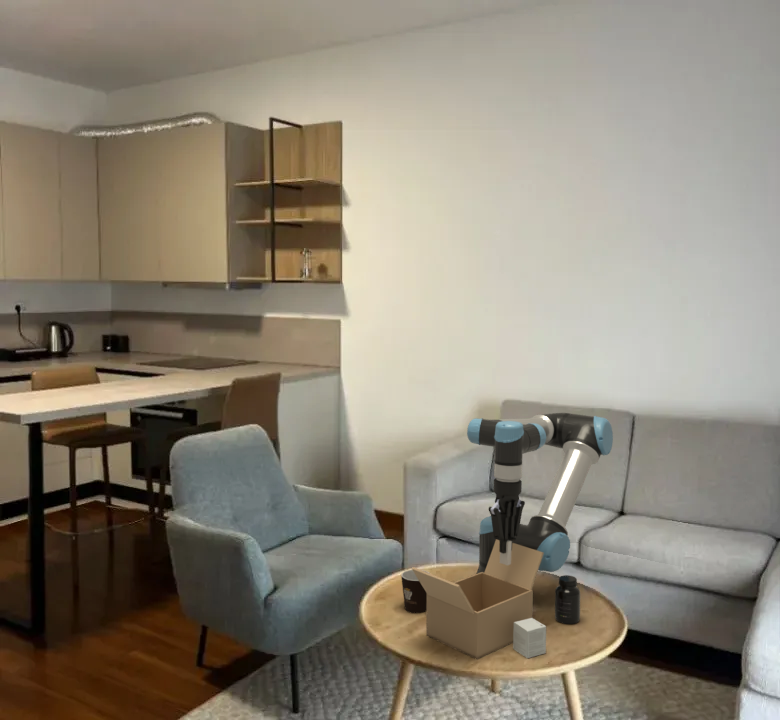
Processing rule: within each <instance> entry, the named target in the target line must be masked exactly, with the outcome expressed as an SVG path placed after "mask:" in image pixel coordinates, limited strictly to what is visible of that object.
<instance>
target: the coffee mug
mask: <svg viewBox="0 0 780 720" xmlns="http://www.w3.org/2000/svg"><path fill="white" fill-rule="evenodd" d="M421 570H422V571H425V572H427V573H430V572H429V571H427V570H423V569H421ZM400 577H401V585H402V587H401V588H402V594H403V604H404V610H405V611H406V612H408V613H410V612H411V614H422V613H425V612H427V593H426V591H425V590H424V588H423V586H422V585H421V583H420V581H419V580H418V578H417V577H416V575H415V573H414V572H413V570H412V569H408V570H405V571H403V572H401V575H400Z"/></svg>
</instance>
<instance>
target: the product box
mask: <svg viewBox="0 0 780 720" xmlns="http://www.w3.org/2000/svg"><path fill="white" fill-rule="evenodd" d="M512 648H513V650H514V651H515V652H517V653H519V654H520V655H521V656H523V657H525V658H526V659H530V658H534V657H537V656H540V655H544V654H546V653H547V625H545V624H543V623H541V622H540V621H538V620H536V619H535V618H533V617H532V618H529V619H525V620H521V621H517V622H514V631H513V643H512Z"/></svg>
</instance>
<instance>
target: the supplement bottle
mask: <svg viewBox="0 0 780 720" xmlns="http://www.w3.org/2000/svg"><path fill="white" fill-rule="evenodd" d="M577 586H578V581H577V577H575V576H573V575H569V574H568V575H567V574H565V575H561V576H559V577H558V586H556V588H555V590H554V591H555V593H554V595H555V596H554V598H555V599H554V616H555V617H554V619H555V620H556V621H557V622H558V623H560V624H565V625H573V624H577V623H579V622H580V619H581V591H580V588H579V587H577Z"/></svg>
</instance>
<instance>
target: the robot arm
mask: <svg viewBox="0 0 780 720" xmlns="http://www.w3.org/2000/svg"><path fill="white" fill-rule="evenodd" d="M613 434H614V433H613V428H612V424H611V422H610V420H608V419H607V418H605V417H602V416H597V415H594V416H592V415H586V414H585V415H583V414H577V413H569V412H554V413H544V414H536V415H533V416H532V417H530V418H506V419H505V418H504V419H503V418H502V419H501V418H499V419H486V418H472V419H471V421H469V423H468V426H467V431H466V436H467V438H468V440H469V442H470V443H471V444H475V445H479V446H485V447H486V446H487V447H493V448H494V461H493V462H494V467H493V468H494V469H493V471H494V472H493V476H494V479H493V493H494V494H495V500H494V504H493V505H492V506H489V507H488V512H489V516H487V517H484V518H482V519H481V521H480V523H479V532H478V534H479V537H478V539H479V540H478V541H479V543H478V545H479V548H478V549H479V550H478V551H479V552H478V553H479V555H478V556H479V557H478V564H479V565H478V568H477V571H476V573H475V574H478V573H480V572H485V570H486V567H487V564H488V561H489V558H490V555H491V553H492V550H493V547H494V544H495V541H496V539H497V540H499V542H500V544H499V548H500V549H499V551H500V563H502V564H505V565H510V564H511V551H512V543H515V544H518V545H521V546H524V547H528V548H531V549H534V550H537V551H540V552H543V553H544V554H543V557H542V560H541V563H540V566H539V569H538V571H540V572H541V571H542V572H543V571H544V572H548V573H552V572H553V573H554V572H556V571H559V570H560V569H561V568H562V567H563V566H564V565H565V563H566V561H567V560H568V557H569V554H570V548H571V539H570V538H569V536H568V534H569V532H568V530H567V528H566V526H567V524H568V521H569V519H570V516H571V514H572V511H573V510H574V507H575V504H576V502H577V500H578V497H579V495H580V492H581V490H582V488H583V485H584V483H585V480H586V478H587V476H588V473H589V471H590V468H591V466H592V465H595V464H597V463H598V462H599V460H600V458H601V456H607V455H609V454H610V453H611V450H612V447H613V443H614V442H613V441H614V435H613ZM543 446H549V447H555V448H558V449H562V451H563V452H564V455H563V457H562V460H561V462H560V464H559V466H558V468H557V471H556V472H555V476H554V478H553V480H552V482H551V485H550V487H549V489H548V491H547V494H546V495H545V497H544V501H543V502H542V505H541V507H540V509H539V511H538V514H537V515H533V516H531V518H530V519H529V521H528V524H522V523H521V520H522V513H523V509H524V507H525V504H526V502H525V500H522V499H520V495H521V494H522V489H523V488H522V478H523V455H524V454H527V453H530V452H535V451H537V450H539V449H542V447H543Z"/></svg>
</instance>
